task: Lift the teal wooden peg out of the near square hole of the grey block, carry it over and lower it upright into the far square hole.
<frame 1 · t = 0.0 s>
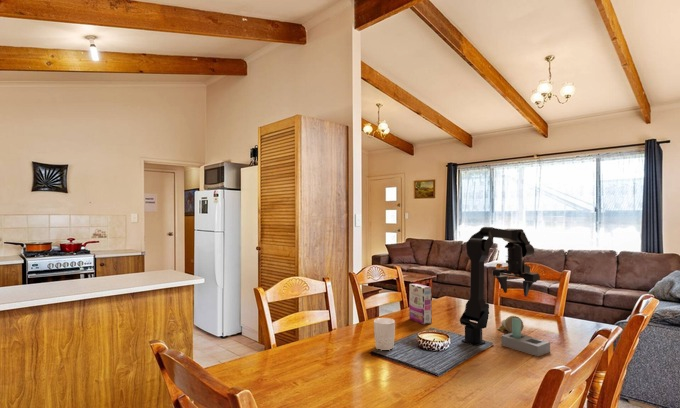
hand: (515, 294, 165), 15 cm above the table, tool pointing down, fingers open, 9 cm apart
peg: (516, 345, 145), resting in block
block: (525, 348, 142), on the table
candy bar box: (420, 321, 178), on the table
white cup: (384, 348, 144), on the table
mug: (509, 331, 162), on the table
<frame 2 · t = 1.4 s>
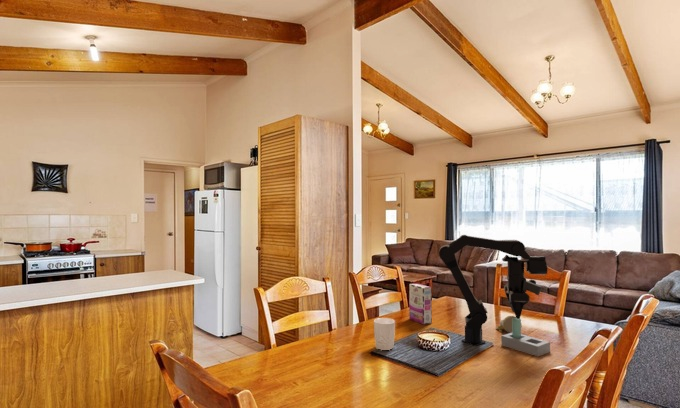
hand: (516, 315, 145), 11 cm above the table, tool pointing down, fingers open, 9 cm apart
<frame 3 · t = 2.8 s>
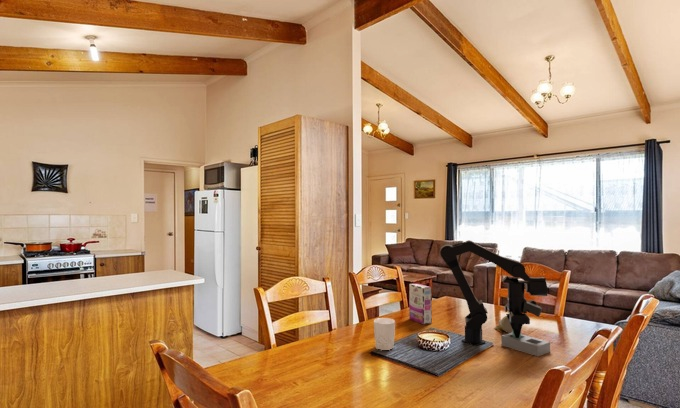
hand: (516, 336, 145), 4 cm above the table, tool pointing down, fingers closed on peg, 3 cm apart
peg: (516, 345, 145), resting in block, touching gripper
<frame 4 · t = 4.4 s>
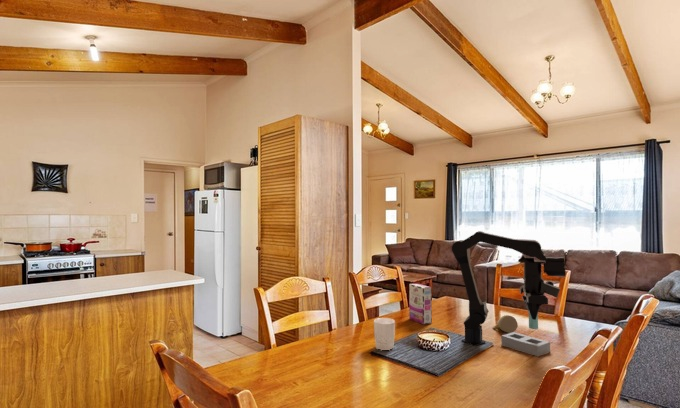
hand: (533, 318, 139), 12 cm above the table, tool pointing down, fingers closed on peg, 3 cm apart
peg: (533, 327, 139), point 8 cm above the table, touching gripper
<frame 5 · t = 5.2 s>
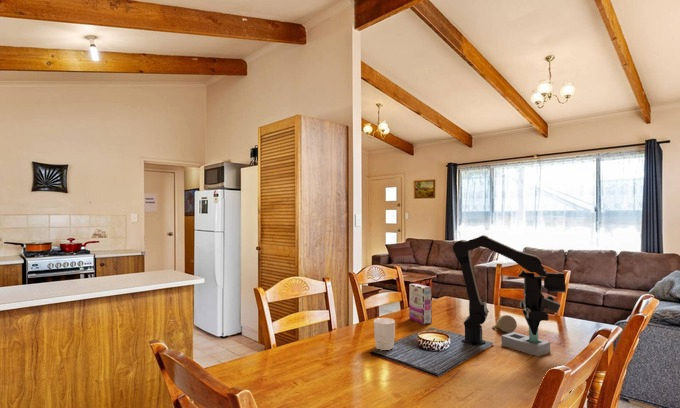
hand: (533, 333, 139), 6 cm above the table, tool pointing down, fingers closed on peg, 3 cm apart
peg: (533, 343, 139), point 3 cm above the table, touching gripper
when the fingers open (5 cm above the table, at t = 5.8 s): peg stays where it is, resting in block.
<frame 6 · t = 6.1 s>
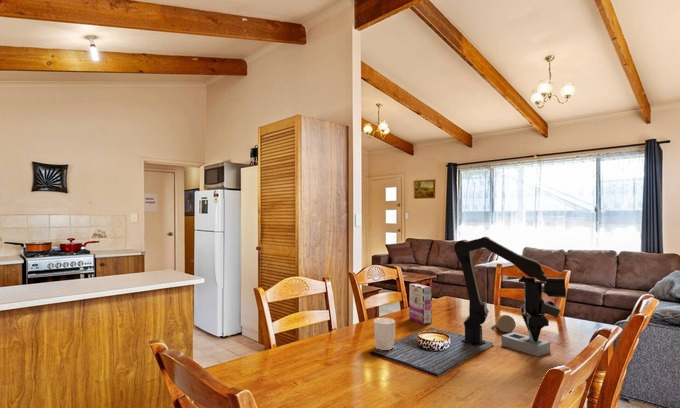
hand: (533, 338, 139), 5 cm above the table, tool pointing down, fingers open, 7 cm apart
peg: (534, 351, 139), resting in block
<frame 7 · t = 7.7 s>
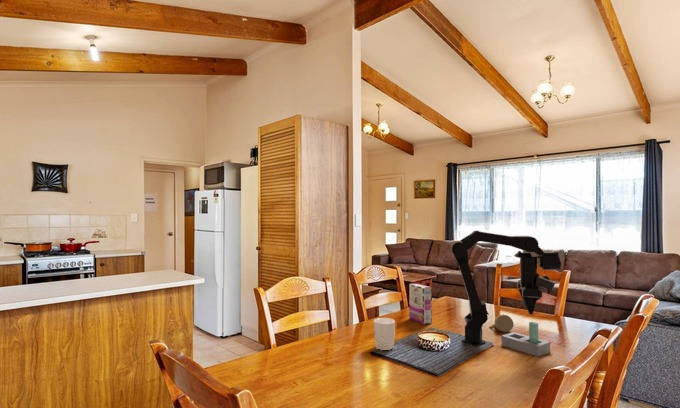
hand: (529, 311, 145), 13 cm above the table, tool pointing down, fingers open, 9 cm apart
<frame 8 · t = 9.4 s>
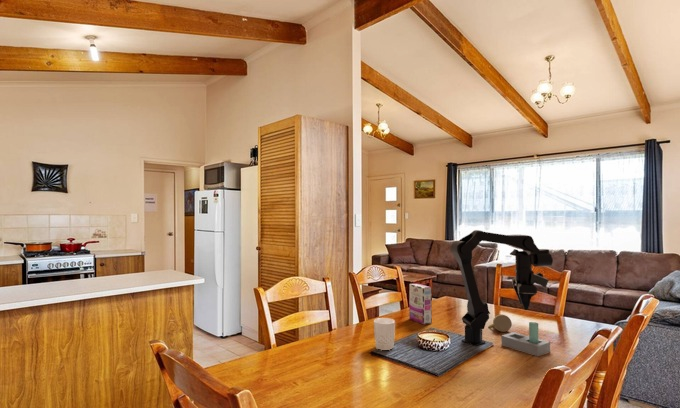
hand: (524, 307, 151), 13 cm above the table, tool pointing down, fingers open, 9 cm apart
at the end: peg 0.0 cm from the target spot on the block, point 0.0 cm above the block's base; peg tilted 0°; the gripper is holding nothing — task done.
